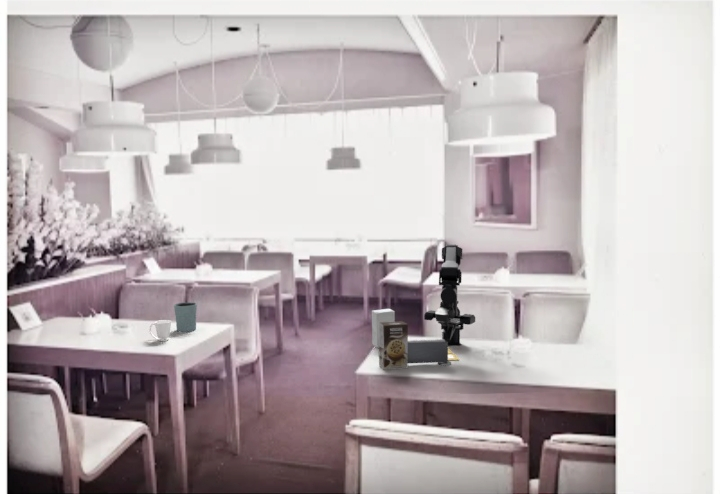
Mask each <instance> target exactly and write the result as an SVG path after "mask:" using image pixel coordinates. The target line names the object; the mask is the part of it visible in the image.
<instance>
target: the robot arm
mask: <svg viewBox="0 0 720 494" xmlns="http://www.w3.org/2000/svg"><path fill="white" fill-rule="evenodd" d="M441 259H442V260H443V263H441V268H439V270H438V271H439V275H438V285H439V286H441V293H440V299H441V302H440V305H439V308H437V310H431V309H430V310H428V311H426V312H424V315H423V319H424V320H426V321H432V320H433V319H435V321H436V322H437V323H438V324H439V325H440V330H443V331H442V332H441V339H444V340H446V341H447V342H448V346H458V345H459V346H460V345H461V344H462V343H461V342H460V341H461V338H460V337H461V331H462V330H464V325H472V324H474V323H476V316H475V314H472V313H471V314H470V313H464V314H462V315H461V310H460V309H459V307H458V305H459V300H458V286H460V284H462V274H463V273H462V271H461V269H460V268H459V267H460V265H461V263H462V261H461V260H463V248H462V247H459V245H458V244H445V245H444V247H442V248H441Z"/></svg>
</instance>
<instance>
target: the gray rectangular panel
mask: <svg viewBox="0 0 720 494" xmlns="http://www.w3.org/2000/svg"><path fill="white" fill-rule="evenodd" d="M448 348H449V345H448V342H447V341H446V340H444V339H442V338H441V339H415V340H414V339H410V340H409V339H408V360H407V361H408V364H430V363H433V364H434V363H437V364H438V362H448Z"/></svg>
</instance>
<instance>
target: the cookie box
mask: <svg viewBox="0 0 720 494" xmlns="http://www.w3.org/2000/svg"><path fill="white" fill-rule="evenodd" d="M408 332H409V324H408V323H406V322H405V321H403V320H400V321H398V320H397V321H395V322H380V323H379V348H378V350H379V351H378V365H379V367H380V368H381V369H382V370H384V371H387V370H386V369H388V370H398V369H408V368H409V367H408V364H409V363H408V361H407V360H408V340H409V338H408V337H409V333H408Z"/></svg>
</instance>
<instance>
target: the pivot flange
mask: <svg viewBox="0 0 720 494" xmlns="http://www.w3.org/2000/svg"><path fill="white" fill-rule="evenodd" d="M437 365H438V366H440V367H449V366H452V361H448V362H437Z"/></svg>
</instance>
